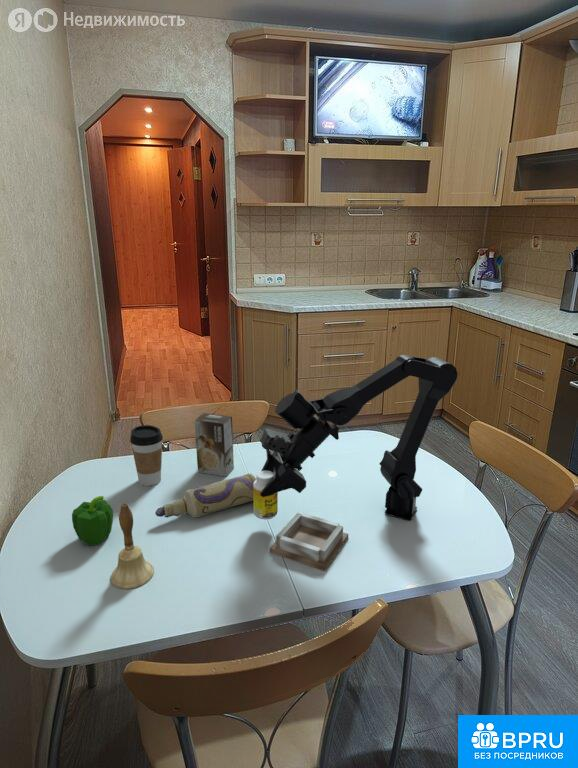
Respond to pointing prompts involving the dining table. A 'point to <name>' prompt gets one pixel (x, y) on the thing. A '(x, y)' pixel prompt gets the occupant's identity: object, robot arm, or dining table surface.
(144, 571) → the hand bell
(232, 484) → the decorative bottle
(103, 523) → the bell pepper
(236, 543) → the dining table surface
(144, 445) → the coffee cup
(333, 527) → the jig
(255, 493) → the supplement bottle
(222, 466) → the coffee box
